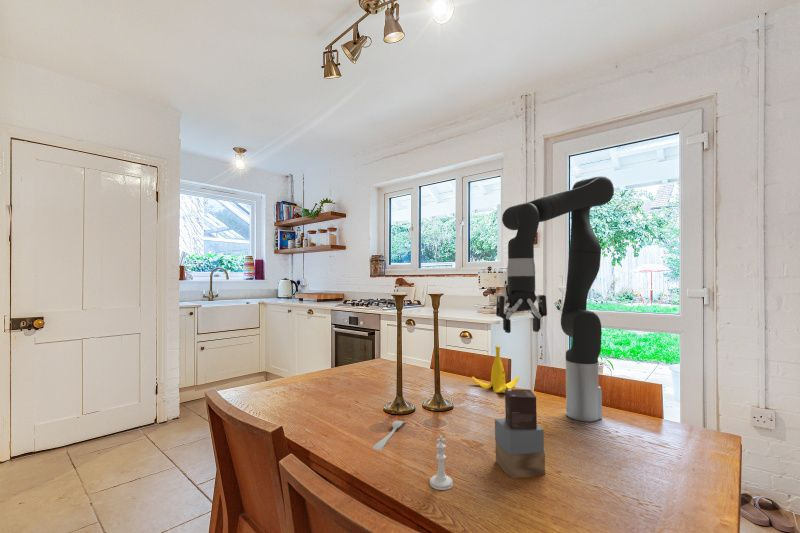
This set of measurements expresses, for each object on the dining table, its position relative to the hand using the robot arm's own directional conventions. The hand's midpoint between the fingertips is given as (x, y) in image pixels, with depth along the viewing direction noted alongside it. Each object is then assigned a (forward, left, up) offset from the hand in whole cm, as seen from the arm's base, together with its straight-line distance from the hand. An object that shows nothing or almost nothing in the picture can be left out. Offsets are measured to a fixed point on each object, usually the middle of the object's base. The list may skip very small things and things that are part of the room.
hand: (521, 332), depth 110 cm
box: (+10, +19, -18) cm, 28 cm away
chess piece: (+30, +22, -28) cm, 47 cm away
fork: (+37, -5, -29) cm, 47 cm away
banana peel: (-9, -43, -29) cm, 52 cm away
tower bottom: (+10, +19, -28) cm, 35 cm away
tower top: (+11, +18, -23) cm, 31 cm away
